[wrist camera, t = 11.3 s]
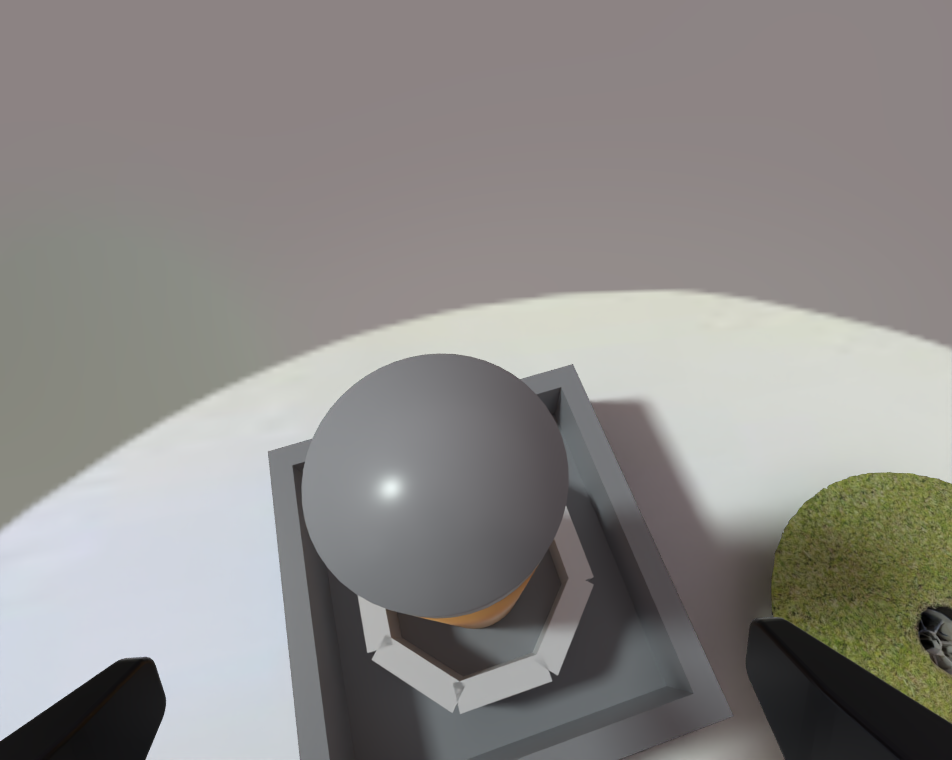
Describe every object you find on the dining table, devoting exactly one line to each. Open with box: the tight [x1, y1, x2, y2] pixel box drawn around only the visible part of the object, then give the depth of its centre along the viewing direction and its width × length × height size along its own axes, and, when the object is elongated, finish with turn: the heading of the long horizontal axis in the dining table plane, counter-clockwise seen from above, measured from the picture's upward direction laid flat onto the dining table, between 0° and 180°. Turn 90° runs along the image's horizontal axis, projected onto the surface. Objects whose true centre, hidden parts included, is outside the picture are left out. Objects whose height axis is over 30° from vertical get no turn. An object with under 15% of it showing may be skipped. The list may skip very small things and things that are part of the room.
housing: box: [268, 364, 733, 760], centre depth 17 cm, size 12×12×4 cm
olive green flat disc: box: [771, 472, 952, 723], centre depth 17 cm, size 11×11×2 cm
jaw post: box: [302, 354, 569, 629], centre depth 12 cm, size 4×4×13 cm
